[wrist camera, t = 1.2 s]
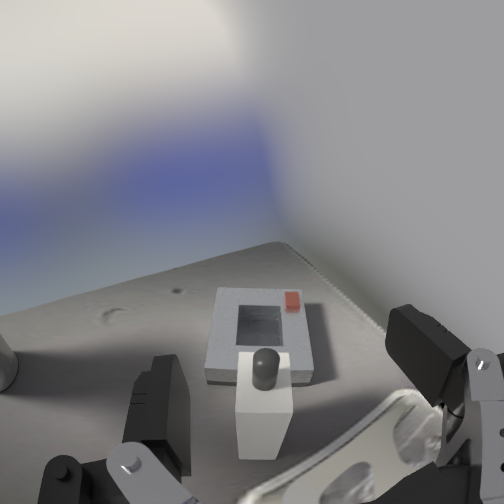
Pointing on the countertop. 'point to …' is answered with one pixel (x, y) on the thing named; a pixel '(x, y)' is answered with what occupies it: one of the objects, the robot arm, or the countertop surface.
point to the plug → (262, 403)
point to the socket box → (258, 332)
